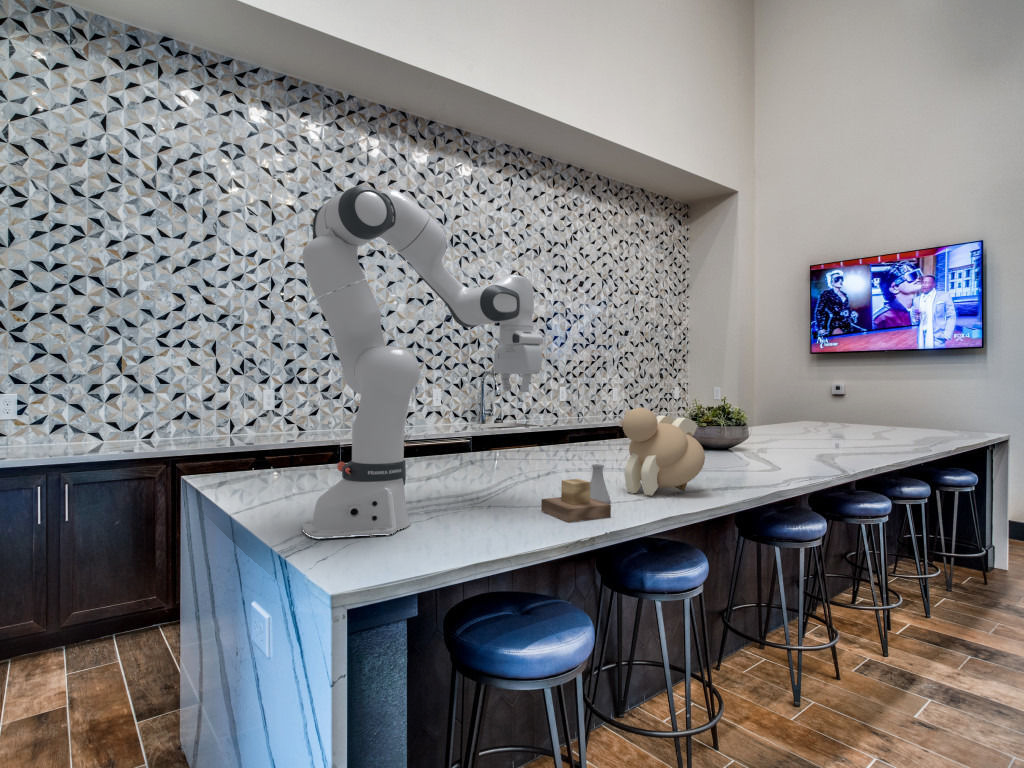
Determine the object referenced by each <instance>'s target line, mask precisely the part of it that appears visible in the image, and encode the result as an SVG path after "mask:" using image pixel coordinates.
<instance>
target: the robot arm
mask: <svg viewBox="0 0 1024 768" xmlns="http://www.w3.org/2000/svg"><path fill="white" fill-rule="evenodd" d="M312 219H313V220H312V224H311V225H312V239H311V240H310V241H309V242H308V243H307V244H306V245H305V246H304V248H303V249H302V253H301V254H302V255H301V256H302V262H303V265H304V269H305V273H306V277H307V280H308V282H309V285H310V288H311V290H312V292H313V295H314V297H315V299H316V301H317V303H318V305H319V307H320V309H321V313H322V315H323V317H324V318H325V320H326V323H327V325H328V328H329V330H330V332H331V334H332V337H333V341H334V343H335V347H336V352H337V354H338V359H339V362H340V365H341V369H342V378H343V381H344V382H345V384H346V385H347V386H348V387H349V388H350V389H351V391H353V392H355V393H356V394H357V395H360V400H359V403H358V404H359V405H358V409H357V413H356V417H355V419H354V421H353V423H352V429H351V431H352V432H351V436H352V438H351V442H352V443H351V460H350V461H348V462H347V463H346V462H344V461H339V462H338V463H337V464H336V469H337V470H338V471H339V472H340V473H341V478H342V479H341V480H339V481H338V482H337V483H336V484H334V485H333V486H332V487H330V488H329V489H328V490H327V491H326V492H324V493H323V494H321V495H320V496H319V497H318V499H317V500H316V503H315V506H314V510H313V515H312V516H313V517H312V518H311V519H307V520H305V521H304V522H303V524H302V525H301V526H302V527H301V529H302V528H303V530H304V532H305V533H307V534H308V535H310V536H314V537H333V536H351V535H372V534H373V535H374V534H392V533H394V532H396V531H397V530H398V531H400V529H401V530H403V528H404V529H405V528H408V527H409V526H410V525H411V521H410V517H409V514H408V508H407V503H406V502H407V501H406V496H405V495H406V493H405V485H406V480H407V467H406V460H405V459H404V456H405V455H404V453H405V452H404V451H405V446H404V445H405V425H406V419H407V414H408V409H409V405H410V403H411V402H410V400H411V398H412V394H413V391H414V389H415V388H416V386H417V384H418V382H419V380H420V375H421V372H420V371H421V370H420V365H419V362H418V361H417V359H416V358H415V356H414V355H413V354H411V353H410V352H409V351H406V350H405V349H402V348H400V347H397V346H393V345H389V346H388V345H387V344H386V341H385V338H384V334H383V329H382V322H381V320H382V313H381V312H382V311H381V310H380V307H379V305H378V303H377V301H376V299H375V296H374V294H373V292H372V291H373V290H372V288H371V287H370V284H369V283H368V280H367V279H366V276H365V273H364V271H363V269H362V268H361V266H360V262H359V257H358V256H359V255H358V250H359V247H361V246H364V245H366V244H368V243H369V242H371V241H372V240H374V239H377V238H380V239H382V240H384V241H385V242H387V243H388V244H389V245H390V247H392V248H393V249H394V250H395V251H396V252H398V254H399V255H400V256H401V257H403V258H404V259H405V260H406V261H407V262H408V263H409V265H411V267H412V268H413V270H414V271H415V272H416V273H417V275H418V276H419V277H420V279H421V280H422V281H423V282H424V283H425V284H426V285H427V286H428V287H429V288H430V289H431V290H432V291H433V292H434V294H436V295H437V297H439V299H441V300H442V301H443V303H444V304H445V306H446V307H447V308H448V311H449V313H450V315H451V317H452V318H453V319H454V321H455V323H457V324H458V325H459V326H460V327H461V326H462V327H464V328H474V327H477V326H481V325H482V326H483V325H484V326H485V325H490V324H497V323H499V336H498V337H499V341H498V344H497V347H495V349H494V356H493V367H492V368H493V373H494V374H498V375H500V380H501V383H502V390H503V391H504V392H511V391H512V384H511V381H510V378H511V375H512V374H513V375H516V374H517V375H518V374H519V375H521V379H522V381H521V385H519V392H520V393H528V392H529V389H530V385H531V381H532V377H533V375H539V374H540V373H541V370H542V363H543V349H542V346H541V345H543V343H544V338H543V337H544V336H542V335H541V334H539V333H537V332H535V331H534V323H533V314H534V309H535V301H534V300H535V297H534V288H533V284H532V281H531V280H530V279H529V278H528V277H526V276H524V275H521V274H514V273H513V274H506V275H504V276H503V277H502V278H501V279H499V280H497V281H495V282H492V283H488V284H486V285H481V286H478V287H467V286H464V285H463V284H461V283H460V282H459V281H458V280H457V279H456V277H455V276H454V275H453V274H452V273H451V272H450V271H449V270H448V269H447V268H446V267H445V265H444V263H443V261H442V260H443V258H444V255H445V254H446V251H447V247H448V246H447V245H448V241H447V234H446V233H445V232H444V230H443V228H442V227H441V225H440V224H439V223H438V222H437V221H436V220H435V219H434V218H433V217H432V216H431V215H429V213H428V212H426V211H425V210H424V208H422V207H421V206H420V205H418V204H417V203H416V202H415V201H413V200H412V199H411V198H409V197H408V196H406V195H405V194H404V193H402V192H400V191H399V190H397V189H393V188H389V189H388V188H387V189H384V190H382V191H380V190H378V189H377V188H373V187H371V186H367V185H366V186H365V185H357V186H354V187H353V186H352V187H349V188H348V189H346V190H345V191H343V192H342V193H339V194H336V195H334V196H332V197H331V198H330V199H328V200H327V201H326V203H324V204H323V205H322V206H321V207H318V209H317V211H316V212H315V214H314V216H313V218H312ZM398 531H397V532H398ZM397 532H396V533H397ZM394 534H395V533H394ZM392 535H393V534H392Z"/></svg>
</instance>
